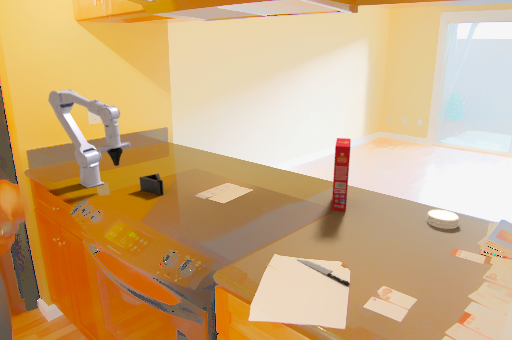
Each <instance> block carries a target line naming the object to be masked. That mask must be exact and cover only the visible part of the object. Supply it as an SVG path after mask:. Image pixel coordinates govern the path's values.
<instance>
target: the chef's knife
mask: <svg viewBox="0 0 512 340" xmlns="http://www.w3.org/2000/svg"><path fill="white" fill-rule="evenodd" d="M296 261H297V262H299V263H301V264H303V265H304V266H307V267H309V268H311V269H313V270H315V269H316V270H317V271H316V270H315V271H316V272H318V271H319V273H320V272H321V273H320V274H322V273H323V275H324V274H325V275H324V276H326V275H327V277H329V278H330V279H333V280H335V281H337V282H339V283H341V284H343V285H345V286H347V287H350V284H351V283H350V282H349V281H347V280H344V279H341V278H339V277H338V276H336V275H334V274H332V272H333V270H332V269H329V268H327V267H323V266H322V265H319V264H317V263H315V262H311V261H308V260H303V259H296ZM314 263H315V264H314ZM321 266H322V267H321ZM326 268H327V269H326ZM328 269H329V270H328Z"/></svg>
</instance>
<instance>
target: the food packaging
mask: <svg viewBox="0 0 512 340" xmlns="http://www.w3.org/2000/svg"><path fill="white" fill-rule="evenodd" d="M351 142H352V141H351V138H344V137H340V138H339V137H338V138H336V141H335V147H334V149H335V150H334V165H333V180H332V181H333V182H332V196H331V198H332V199H331V200H332V201H331V211H337V212H339V211H340V212H347V199H348V198H347V197H348V185H349V184H348V183H349V172H350V159H351V158H350V157H351Z"/></svg>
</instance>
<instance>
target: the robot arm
mask: <svg viewBox="0 0 512 340" xmlns="http://www.w3.org/2000/svg"><path fill="white" fill-rule="evenodd" d="M48 103H49V104H50V106H51V108H52V109H53V111H54V115H55V116H56V118H57V120H58V122H60V125H61V126H62V128H63V130H64V131H65V132H66V135H67V136H68V138H69V139H70V141H71V142H72V144H73V146H74V148H75V151H74V153H73V155H74V157H75V161H76V163H77V165H78V166H79V176H80V178H79V179H80V181H79V182H78V184H80V185H82V186H83V187H85V188H92V187H96V186H101V185H104V184H105V182H104V181H101V173H100V167H99V166H100V162H101V160H102V152H106V153H107V154H108V155H109V157H110V159H111V161H112V162H113V166H115V167H118V166H119V165H120V161H121V160H120V159H121V156H122V154H123V150H124V149H123V148H131V147H132V143H131V142H130V141H123V142H121V134H120V128H119V118H120V116H121V112H120V109H119V108H118V107H117V106H115V105H111V106H109V104H107V103H104V102H101V101H100V99H98V98H95V99H89V98H87V97H84V96H83V95H81V94H79V93H77V92H76V91H75V90H73V89H71V88H70V89H66V90H65V89H64V90H52V91H50V93H49V95H48ZM75 104H76V105H79V106H81V107H84V108H86V109H87V112H90V113H91V114H93V115H95V116H98V117H99V118H100V119H101V121H102V125H103V126H104V133H105V142H106V145H101V146H97V147H95V145H93V144H91V143H89V142H88V141H87V139H86V138H85V135H84V134H83V133H82V131H81V129H80V128H79V126H78V125H77V123H76V121H75V119H74V118H73V116H72V115H71V110H72V109H73V107H74V105H75Z"/></svg>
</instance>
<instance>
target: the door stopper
mask: <svg viewBox="0 0 512 340" xmlns="http://www.w3.org/2000/svg"><path fill="white" fill-rule="evenodd" d="M139 186H140V191H141V190H142V191H141V192H145V191H146V193H149V192H150V194H153V193H154V195H156V196H158V197H160V196H164V194H165V191H164V181H163V180H162V178H161V176H160V173H156V174H151V175H150V174H148V175H144V176H139Z"/></svg>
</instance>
